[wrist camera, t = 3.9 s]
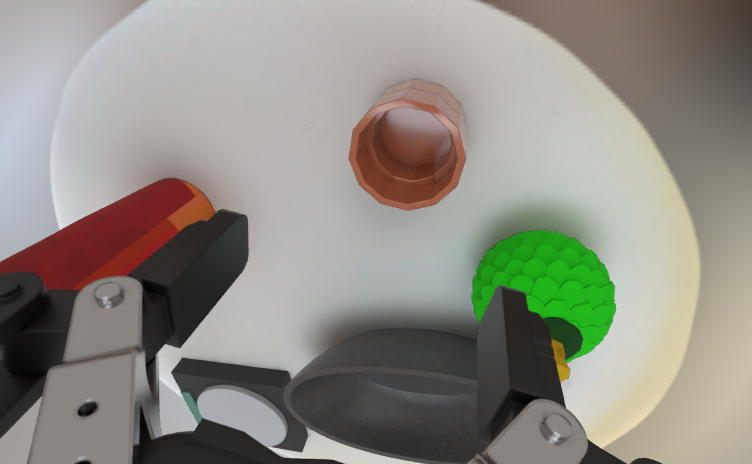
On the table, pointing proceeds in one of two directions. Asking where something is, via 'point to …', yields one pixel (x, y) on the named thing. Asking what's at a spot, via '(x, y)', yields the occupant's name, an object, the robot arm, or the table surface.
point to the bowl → (394, 395)
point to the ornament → (552, 289)
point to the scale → (241, 400)
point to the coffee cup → (113, 236)
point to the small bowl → (410, 146)
